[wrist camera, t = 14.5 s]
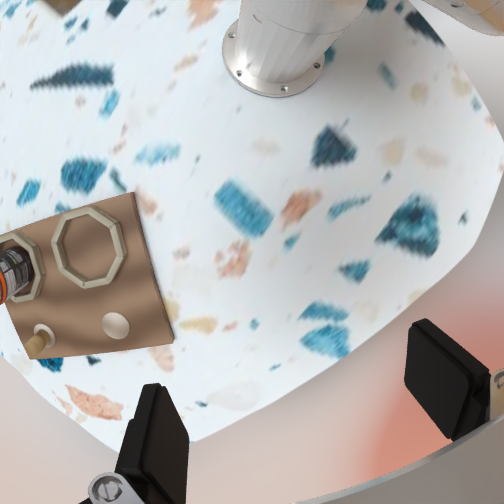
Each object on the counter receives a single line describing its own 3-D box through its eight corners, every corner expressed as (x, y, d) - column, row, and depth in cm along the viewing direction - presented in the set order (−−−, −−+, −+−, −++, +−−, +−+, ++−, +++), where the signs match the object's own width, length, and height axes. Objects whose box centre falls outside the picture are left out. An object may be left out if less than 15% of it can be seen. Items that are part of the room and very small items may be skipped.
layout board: (-10, 239, 34) (-33, 248, 28) (133, 191, 35) (117, 195, 29) (33, 354, 39) (17, 374, 33) (174, 337, 40) (168, 362, 34)
